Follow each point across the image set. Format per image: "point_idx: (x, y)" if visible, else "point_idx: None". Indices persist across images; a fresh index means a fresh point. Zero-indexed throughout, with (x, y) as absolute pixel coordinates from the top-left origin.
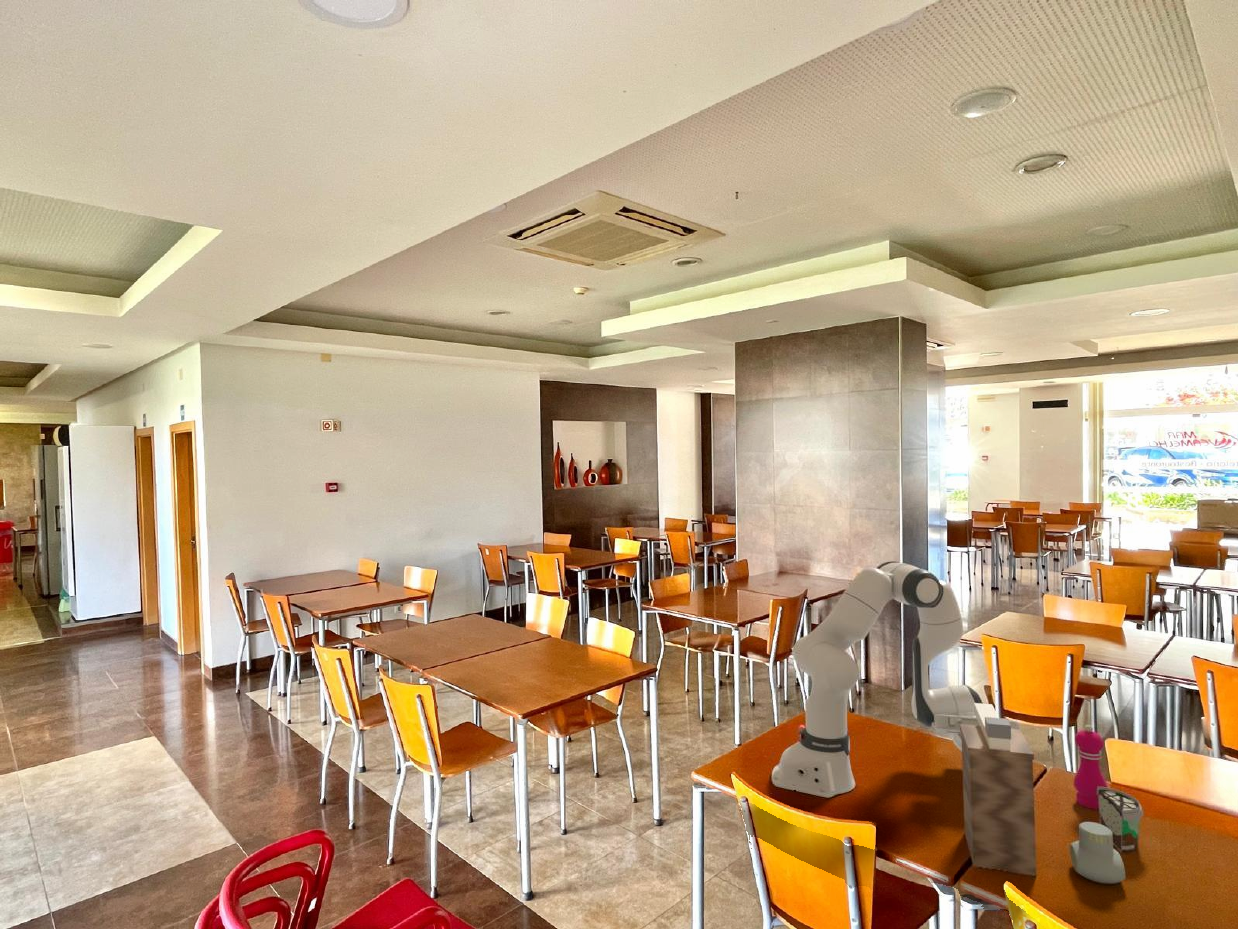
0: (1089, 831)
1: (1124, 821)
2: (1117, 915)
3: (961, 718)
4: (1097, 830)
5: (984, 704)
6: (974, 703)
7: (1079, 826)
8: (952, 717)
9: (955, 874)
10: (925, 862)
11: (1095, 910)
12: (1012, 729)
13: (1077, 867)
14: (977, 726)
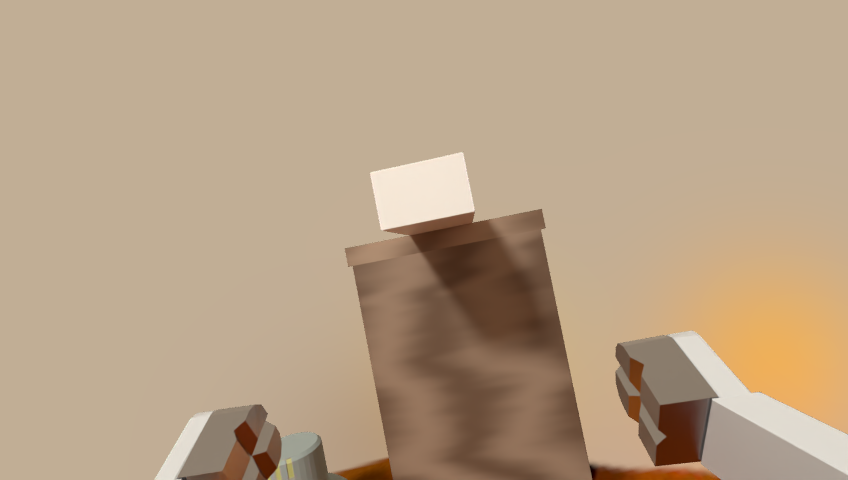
0: (311, 434)
1: None
2: (353, 472)
3: (616, 355)
4: (290, 442)
5: (412, 165)
6: (461, 153)
7: (315, 445)
8: (809, 424)
9: (596, 465)
10: (668, 474)
11: (379, 470)
12: (370, 243)
13: None
14: (480, 221)
